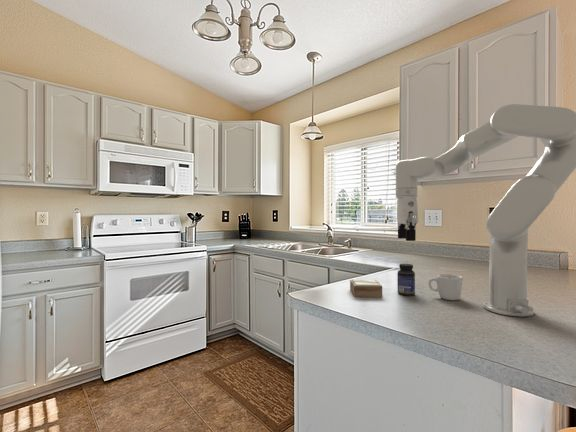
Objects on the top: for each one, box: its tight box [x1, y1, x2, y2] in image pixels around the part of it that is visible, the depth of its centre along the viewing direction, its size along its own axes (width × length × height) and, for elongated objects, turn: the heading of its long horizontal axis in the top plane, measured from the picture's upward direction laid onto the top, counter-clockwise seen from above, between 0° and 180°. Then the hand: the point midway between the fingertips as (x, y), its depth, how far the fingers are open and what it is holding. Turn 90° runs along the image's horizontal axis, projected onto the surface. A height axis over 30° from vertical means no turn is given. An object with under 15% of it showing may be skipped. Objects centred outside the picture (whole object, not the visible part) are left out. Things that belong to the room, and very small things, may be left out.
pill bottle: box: [397, 263, 416, 297], centre depth 114 cm, size 6×6×11 cm
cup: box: [428, 273, 464, 301], centre depth 108 cm, size 11×8×8 cm
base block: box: [349, 279, 383, 298], centre depth 115 cm, size 10×10×4 cm
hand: (406, 239), depth 114 cm, fingers open, 9 cm apart
